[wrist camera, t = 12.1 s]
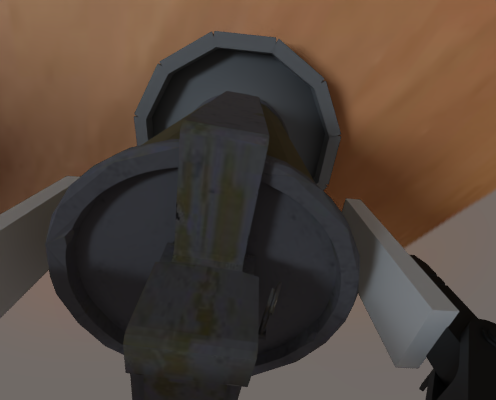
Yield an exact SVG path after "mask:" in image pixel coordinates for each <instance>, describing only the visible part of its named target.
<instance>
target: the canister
mask: <svg viewBox="0 0 496 400" xmlns="http://www.w3.org/2000/svg"><path fill="white" fill-rule="evenodd" d="M45 247H46V253H47V260H48V266H49V272H50V277H51V280H52V283H53V286H54V289H55V291H56V294H57V295H58V297H59V298H60V299H61V301H62V302H63V303H64V305H65V306H66V307H67V309H68V310H69V311H70V312H71V314H72V315H73V317H74V318H75V319H76V321H77V322H78V323H79V324H80V325H81V326H82V327H84V328H85V329H86V330H87V331H89V333H91V334H92V335H93V336H94V337H95V338H96V339H98V340H99V341H100V342H101V343H102V344H104V345H105V346H107V347H108V348H111V349H113V350H115V351H117V352H119V353H121V354H123V355H124V360H125V369H126V373H130V376H131V387H132V400H238V396H239V393H240V390H241V387H242V386H243V387H248V384H249V381H250V378H251V376H253V375H256V374H259V373H262V372H266V371H269V370H272V369H275V368H278V367H281V366H284V365H287V364H291V363H294V362H296V361H298V360H300V359H301V358H303V357H305V356H306V355H308V354H309V353H311V352H312V351H314V350H315V349H317V348H318V347H320V346H321V345H323V344H324V343H326V342H327V341H328V340H329V338H330V337H331V336H332V335H333V334H334V333H335V332H336V331H337V330H338V329H339V327H340V326H341V325H342V324H343V323H344V322H345V320H346V318H347V317H348V315H349V313H350V311H351V309H352V307H353V305H354V302H355V300H356V297H357V294H358V288H359V272H360V255H359V252H358V248H357V245H356V242H355V240H354V237H353V235H352V232H351V229H350V227H349V224H348V222H347V220H346V218H345V217H344V215H343V214H342V212H341V211H340V210H339V208H338V207H337V206H336V204H335V203H334V202H333V200H332V199H331V198H330V197H329V196H328V195H327V194H326V193H325V192H324V191H323V190H322V189H321V188H320V187H319V186H318V185H317V184H316V183H315V182H314V180H313V179H312V177H311V175H310V173H309V172H308V170H307V168H306V166H305V165H304V163H303V161H302V159H301V158H300V156H299V154H298V152H297V151H296V149H295V147H294V145H293V143H292V142H291V140H290V138H289V134H288V130H287V128H286V126H285V123H284V122H283V120H282V118H281V117H280V116H279V114H278V113H277V112H276V111H275V110H274V109H273V108H272V107H271V106H270V105H269V104H267V103H266V102H265V101H263V100H261V99H260V98H259V97H257V96H252V95H248V94H243V93H236V92H231V91H226V92H224V93H223V94H220V95H217V96H214V97H212V98H210V99H208V100H206V101H204V102H203V103H202V104H201V105H200V106H198V107H197V108H196V109H195V110H194V111H193V112H192V113H190V114H189V115H187V116H186V117H184V118H182V119H181V120H179V121H178V122H176V123H175V124H173V125H172V126H170V127H169V128H167V129H165V130H164V131H162V132H161V133H159V134H158V135H156V136H155V137H153V138H151V139H150V140H148V141H147V142H145V143H144V144H142V145H141V146H136V147H131V148H129V149H126V150H124V151H122V152H120V153H118V154H116V155H114V156H112V157H110V158H108V159H106V160H104V161H102V162H100V163H98V164H96V165H95V166H93V167H92V168H90V169H89V170H88V171H87V172H86V173H84V174H83V175H82V176H81V177H80V178H78V179H77V180H76V181H75V182H74V183H72V184H71V185H70V186H69V188H68V189H67V191H66V192H65V194H64V196H63V197H62V199H61V201H60V202H59V204H58V206H57V207H56V209H55V211H54V212H53V214H52V217H51V221H50V225H49V230H48V234H47V239H46V243H45Z"/></svg>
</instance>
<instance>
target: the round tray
mask: <svg viewBox="0 0 496 400" xmlns="http://www.w3.org/2000/svg"><path fill="white" fill-rule="evenodd" d="M275 43H276V44H275ZM160 63H161V64H157V66H156V68H155V71H154V73H153V75H152V77H151V79H150V81H149V83H148V86H147V88H146V90H145V92H144V94H143V96H142V98H141V101H140V103H139V105H138V107H137V109H136V111H135V115H136V116H134V122H135V130H136V139H137V146H141V145H142V144H144V143H145V142H147V141H148V140H150V139H151V138H153V137H155V136H156V135H158V134H159V133H161V132H162V131H164V130H165V129H167V128H169V127H170V126H172V125H173V124H175V123H176V122H178V121H179V120H181V119H182V118H184V117H186V116H187V115H189V114H190V113H192V112H193V111H194V110H195V109H196V108H197V107H198V106H200V105H201V104H202V103H203V102H204V101H206V100H208V99H210V98H212V97H214V96H217V95H220V94H223V93H224V92H226V91H231V92H236V93H243V94H248V95H252V96H257V97H259V98H260V99H261V100H263V101H265V102H266V103H267V104H269V105H270V106H271V107H272V108H273V109H274V110H275V111H276V112H277V113H278V114H279V116H280V117H281V118H282V120H283V122H284V123H285V126H286V128H287V130H288V134H289V138H290V140H291V142H292V143H293V145H294V147H295V149H296V151H297V152H298V154H299V156H300V158H301V159H302V161H303V163H304V165H305V166H306V168H307V170H308V172H309V173H310V175H311V177H312V179H313V180H314V182H315V183H316V184H317V185H318V186H319V187H320V188H321V189H322V190H323V191H324V189H325V188H326V187H327V185H326V184H329V180H330V177H331V173H332V169H333V165H334V162H335V158H336V154H337V150H338V146H339V143H340V139H341V136H340V134H341V132H340V129H339V125H338V122H337V118H336V115H335V111H334V108H333V104H332V101H331V97H330V94H329V90H328V87H327V83H326V81H323V80H324V78H323V77H322V76H321V75H320V74H319V73H317V72H316V71H315V70H314V69H313V68H312V67H311V66H309V65H308V64H307V63H306V62H305V61H304V60H303V59H301V58H300V57H299V56H298V55H297V54H296V53H295V52H293V51H292V50H291V49H290V48H289V47H288V46H286V45H285V44H284V43H283V42H282V41H281V40H280V39H278V41H277V42H276V38H275V37H266V36H256V35H247V34H238V33H228V32H219V31H214V34H213V33H212V32H210V33H208V34H206V35H205V36H203V37H201V38H199V39H198V40H196V41H194V42H193V43H191V44H189V45H187V46H186V47H184V48H182V49H180V50H179V51H177V52H175V53H174V54H172V55H170V56H168V57H167V58H165V59H163V60H161V61H160Z"/></svg>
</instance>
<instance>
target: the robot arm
mask: <svg viewBox="0 0 496 400" xmlns="http://www.w3.org/2000/svg"><path fill="white" fill-rule="evenodd" d="M78 178H80V177H75V176H66V177H64V178H63V179H61V180H59V181H57V182H56V183H54V184H52V185H50V186H49V187H47V188H45V189H43V190H42V191H40V192H38V193H37V194H35V195H33V196H31V197H30V198H28V199H26V200H24V201H23V202H21V203H19V204H17V205H16V206H14V207H12V208H11V209H9V210H7V211H5V212H4V213H2V214H0V318H1V317H2V316H3V315H4V314H5V313H6V312H7V311H8V310H9V309H10V308H11V307H12V306H13V305H14V304H15V303H16V302H17V301H18V300H19V299H20V298H21V297H22V296H23V295H24V294H25V293H26V292H27V291H28V290H29V289H30V288H31V287H32V286H33V285H34V284H35V283H36V282H37V281H38V280H39V279H40V278H41V277H42V276H43V275H44V274H45V273H46V272H47V271H48V270H49V266H48V260H47V253H46V247H45V243H46V239H47V234H48V230H49V225H50V221H51V217H52V214H53V212H54V211H55V209H56V207H57V206H58V204H59V202H60V201H61V199H62V197H63V196H64V194H65V192H66V191H67V189H68V188H69V186H70V185H71V184H72V183H74V182H75V181H76V180H77V179H78ZM342 214H343V215H344V217H345V218H346V220H347V222H348V224H349V227H350V229H351V232H352V235H353V237H354V240H355V242H356V245H357V248H358V252H359V255H360V272H359V288H358V293H359V296H360V298H361V300H362V301H363V304H364V306H365V307H366V310H367V312H368V313H369V316H370V318H371V320H372V322H373V323H374V326H375V328H376V329H377V331H378V334H379V335H380V337H381V339H382V342H383V343H384V345H385V347H386V349H387V351H388V353H389V355H390V357H391V359H392V361H393V363H394V365H395V367H400V368H419V367H420V365H421V364H422V363H423V361H424V360H425V358H426V357H427V359H428V360H429V362H430V363H431V365H432V366H433V368H434V369H433V370H432V371H431V373H430V374H429V375H428V376H427V378H426V379H425V380H424V382H423V383H422V384H421V386H420V390H422V391H424V390H425V388H426V387H428V388H427V394H426V400H496V324H495V323H492V322H490V321H487V320H482V319H478V318H477V317H476V316H475V315H474V314H473V313H472V312H471V311H470V309H469V308H468V307H467V306H466V305H465V304H464V303H463V302H462V301H461V300H460V299H459V298H458V297H457V296H456V294H455V293H454V292H453V291H452V290H451V289H450V288H449V287H448V286H446V285H445V283H444V282H443V281H442V279H441V278H440V277H437V275H436V273H435V272H434V271H433V270H432V269H431V268H430V267H429V266H428V265H427V264H426V263H425V262H423V261H422V260H420V259H419V258H417V257H416V256H415V255H409V254H408V253H407V252H406V251H405V249H404V248H403V247H402V246H401V245H400V244H399V243H398V242H397V240H396V239H395V238H394V237H393V236H392V235H391V234H390V233H389V231H388V230H387V229H386V228H385V227H384V226H383V225H382V223H381V222H380V221H379V220H378V219H377V218H376V217H375V216H374V214H373V213H372V212H371V211H370V210H369V209H368V208H367V207H366V205H365V204H364V203H363V202H362V201H361V200H358V199H346V200H345V203H344V206H343V209H342Z"/></svg>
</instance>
